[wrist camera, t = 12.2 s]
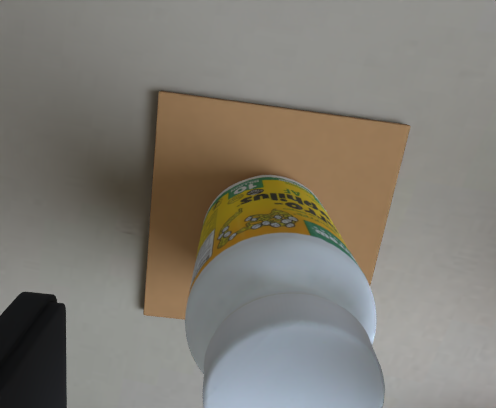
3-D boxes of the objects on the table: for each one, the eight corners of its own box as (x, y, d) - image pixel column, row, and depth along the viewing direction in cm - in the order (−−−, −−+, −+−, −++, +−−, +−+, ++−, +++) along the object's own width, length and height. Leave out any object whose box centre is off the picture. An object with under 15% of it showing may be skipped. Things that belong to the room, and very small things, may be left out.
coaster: (144, 310, 20) (143, 315, 20) (160, 90, 17) (158, 91, 16) (354, 333, 20) (357, 338, 20) (407, 124, 17) (411, 125, 17)
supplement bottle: (187, 267, 19) (138, 462, 10) (225, 153, 17) (208, 258, 8) (301, 301, 19) (356, 513, 10) (348, 194, 18) (461, 334, 9)
